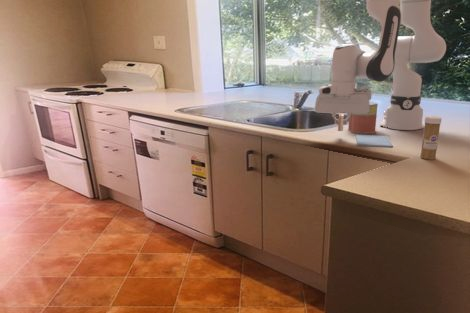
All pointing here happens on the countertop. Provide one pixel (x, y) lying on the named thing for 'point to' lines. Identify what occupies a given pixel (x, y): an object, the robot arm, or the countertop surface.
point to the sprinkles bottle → (430, 137)
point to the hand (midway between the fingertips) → (340, 124)
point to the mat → (373, 141)
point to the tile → (340, 122)
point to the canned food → (364, 120)
